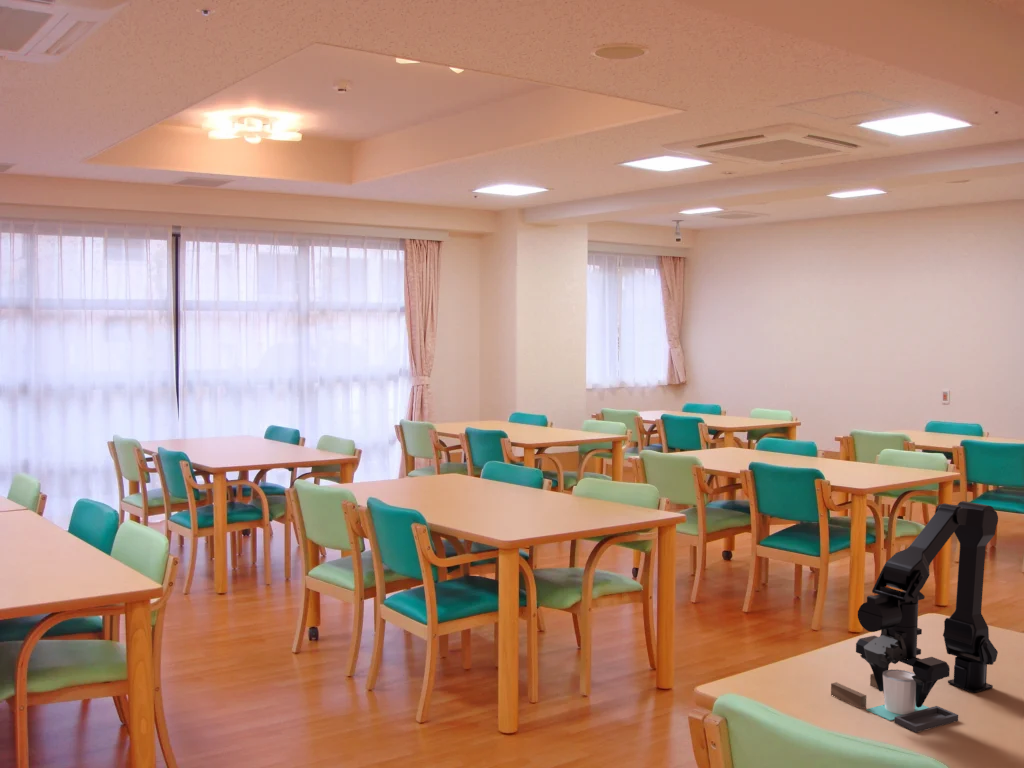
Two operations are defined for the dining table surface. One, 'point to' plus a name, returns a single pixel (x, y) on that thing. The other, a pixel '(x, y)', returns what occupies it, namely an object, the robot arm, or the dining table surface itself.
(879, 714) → the teal pad
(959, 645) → the robot arm
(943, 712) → the trap pit
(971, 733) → the dining table surface
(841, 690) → the brown bar
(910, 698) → the white cup
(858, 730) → the dining table surface
